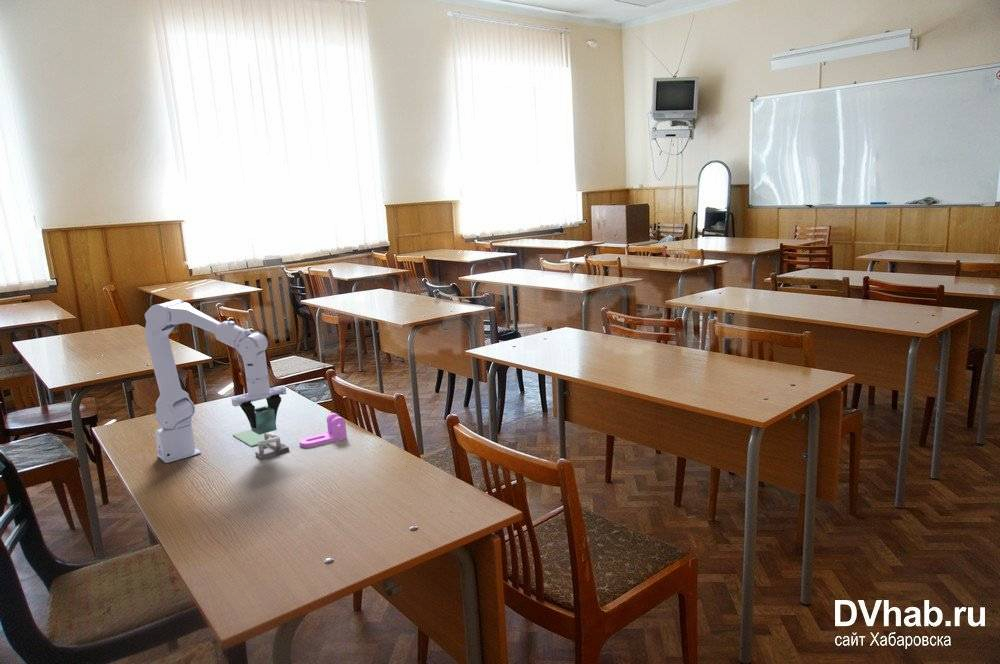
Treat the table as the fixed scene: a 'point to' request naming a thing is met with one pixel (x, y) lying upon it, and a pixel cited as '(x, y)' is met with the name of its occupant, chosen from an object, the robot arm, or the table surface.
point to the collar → (264, 420)
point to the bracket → (334, 433)
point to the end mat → (249, 437)
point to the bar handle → (270, 446)
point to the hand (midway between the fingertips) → (263, 424)
